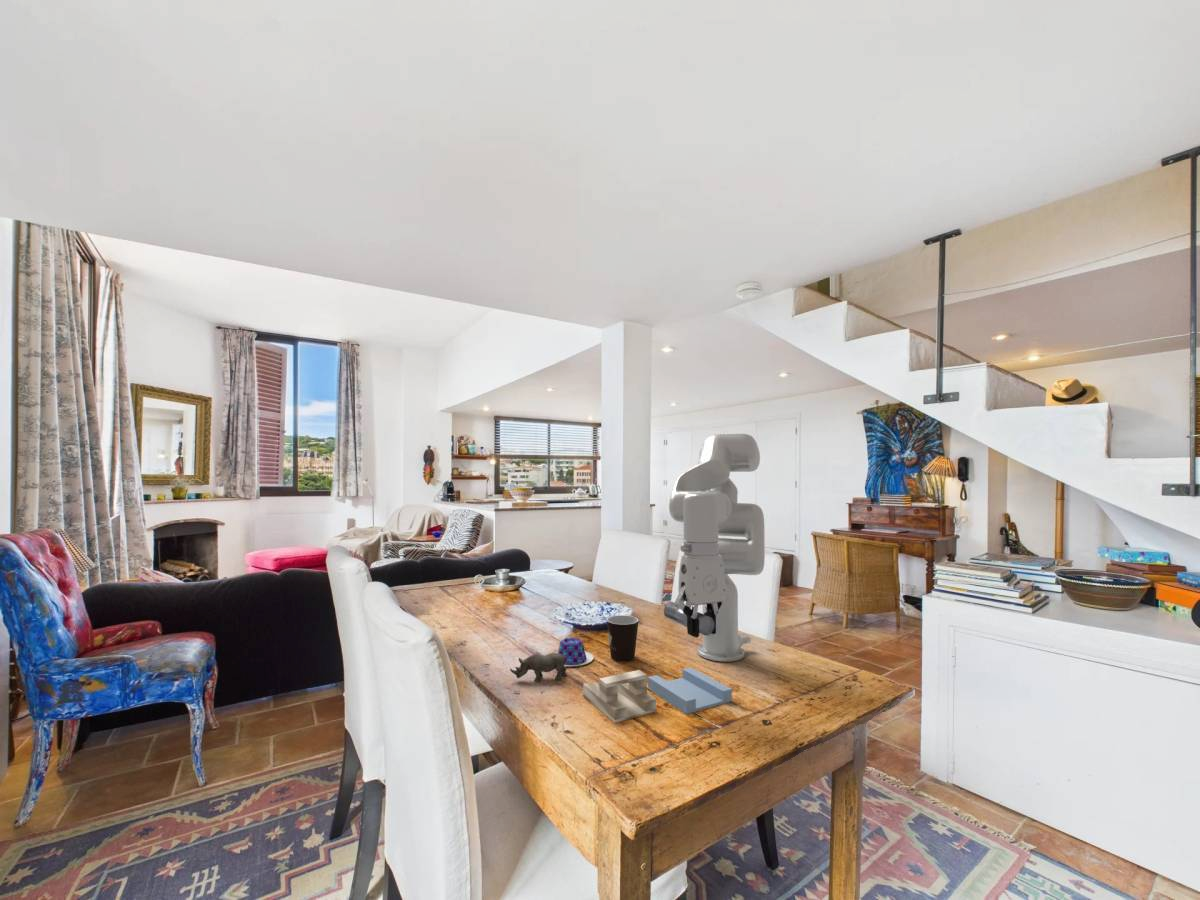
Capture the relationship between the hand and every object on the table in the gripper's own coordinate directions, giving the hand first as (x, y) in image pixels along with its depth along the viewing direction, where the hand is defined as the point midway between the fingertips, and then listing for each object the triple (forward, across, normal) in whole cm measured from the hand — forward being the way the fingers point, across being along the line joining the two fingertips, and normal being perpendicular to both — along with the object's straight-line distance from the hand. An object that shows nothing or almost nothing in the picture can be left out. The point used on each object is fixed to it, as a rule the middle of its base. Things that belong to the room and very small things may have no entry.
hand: (701, 633), depth 108 cm
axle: (-2, 0, +5) cm, 5 cm away
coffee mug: (+15, 0, +33) cm, 36 cm away
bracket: (+15, -16, +9) cm, 23 cm away
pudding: (+15, -14, +37) cm, 42 cm away
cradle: (+15, 0, +5) cm, 15 cm away
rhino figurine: (+15, -26, +29) cm, 42 cm away
